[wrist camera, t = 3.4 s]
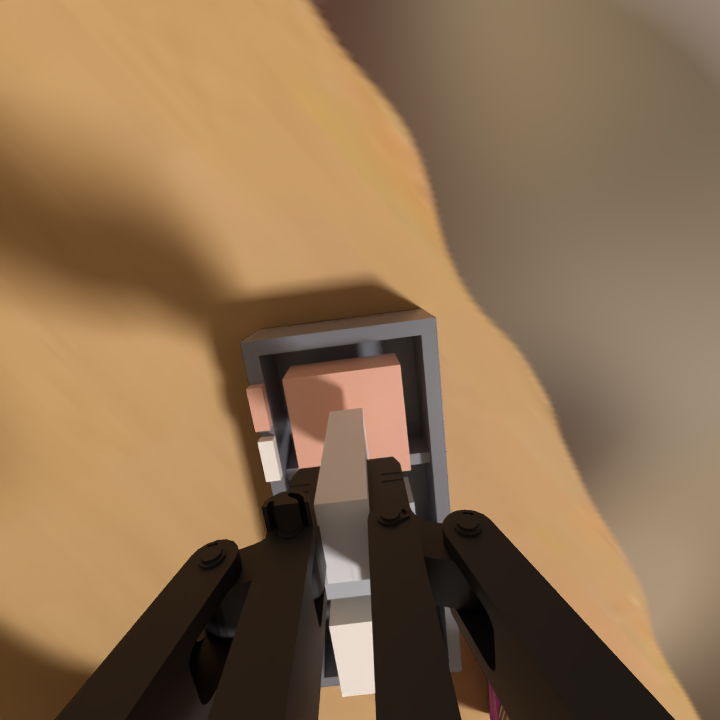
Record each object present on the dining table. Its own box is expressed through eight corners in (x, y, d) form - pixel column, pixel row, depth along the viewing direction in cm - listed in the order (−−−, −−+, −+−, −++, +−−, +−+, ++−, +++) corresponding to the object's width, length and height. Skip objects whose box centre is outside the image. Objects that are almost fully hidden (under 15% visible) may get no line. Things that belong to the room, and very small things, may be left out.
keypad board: (319, 630, 28) (313, 698, 24) (259, 329, 22) (236, 345, 18) (447, 615, 28) (464, 681, 24) (421, 308, 22) (438, 319, 18)
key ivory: (343, 656, 25) (342, 696, 22) (331, 590, 23) (329, 626, 21) (425, 646, 25) (433, 686, 22) (418, 579, 23) (425, 615, 21)
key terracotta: (307, 459, 21) (301, 483, 18) (290, 365, 19) (282, 379, 17) (404, 447, 21) (411, 470, 18) (394, 352, 19) (400, 364, 17)
